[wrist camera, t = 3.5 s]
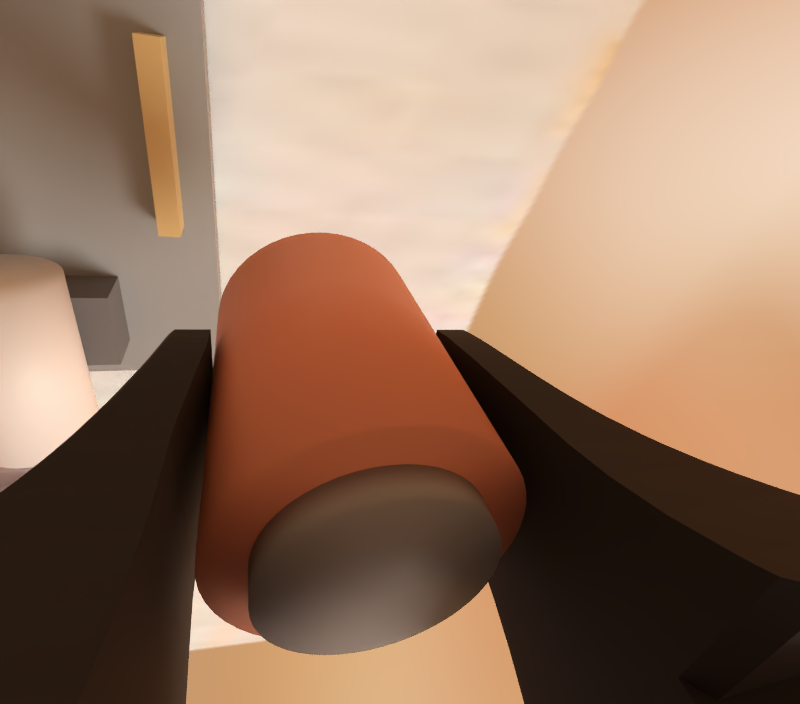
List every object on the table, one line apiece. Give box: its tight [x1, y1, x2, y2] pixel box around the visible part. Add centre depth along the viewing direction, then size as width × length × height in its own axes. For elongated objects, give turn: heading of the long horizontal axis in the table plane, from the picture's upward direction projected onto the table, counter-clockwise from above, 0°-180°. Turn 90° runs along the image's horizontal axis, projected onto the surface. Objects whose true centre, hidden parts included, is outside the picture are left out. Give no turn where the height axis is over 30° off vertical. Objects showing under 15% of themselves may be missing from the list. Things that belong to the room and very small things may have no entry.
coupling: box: [195, 233, 526, 655], centre depth 8 cm, size 4×4×6 cm
